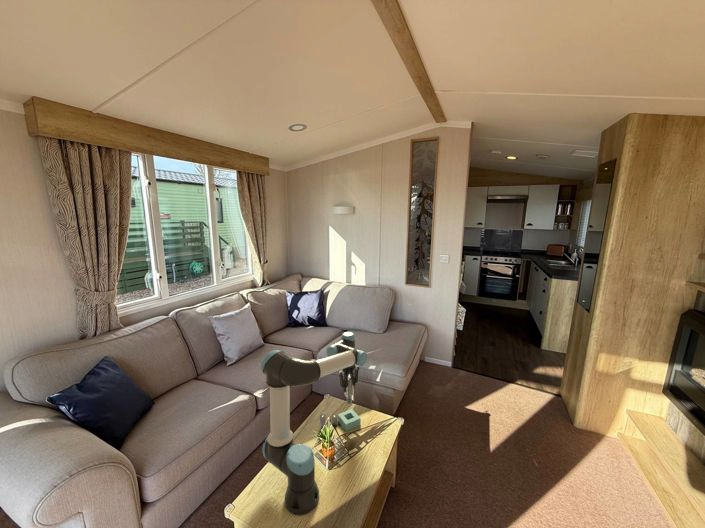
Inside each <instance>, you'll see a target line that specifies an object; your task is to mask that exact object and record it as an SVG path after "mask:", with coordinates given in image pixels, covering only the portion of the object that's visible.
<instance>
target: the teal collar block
mask: <svg viewBox="0 0 705 528" xmlns="http://www.w3.org/2000/svg"><path fill="white" fill-rule="evenodd" d="M361 422H362V421H361V417H360V416H359V415H358V413H356V412H355V411H354V409H353V408H350V409H348V410H346V411H342V412H340V413H338V414H337V423H338V424H340V426H341V427H342V429H344V431H345V432H348V431H350V430H352V429H354V428H356V427H359V426H361V424H362V423H361Z"/></svg>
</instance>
